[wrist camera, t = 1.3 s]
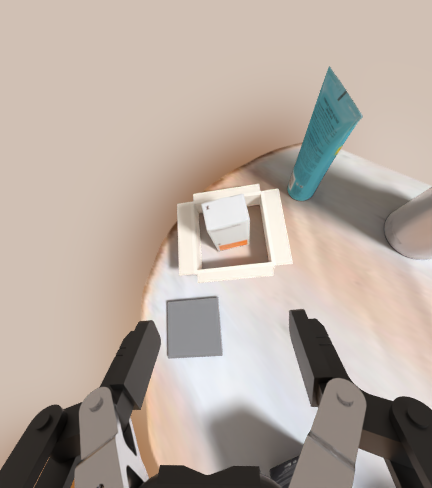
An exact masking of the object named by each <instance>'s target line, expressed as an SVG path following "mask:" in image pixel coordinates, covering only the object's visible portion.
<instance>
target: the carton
mask: <svg viewBox="0 0 432 488" xmlns="http://www.w3.org/2000/svg"><path fill="white" fill-rule="evenodd" d="M238 194H244V198H245V201H246V205H247V206H254V205H260V209H261V215H262V222H263V228H264V234H265V241H266V247H267V253H268V260H269V262H267V263H258V264H248V265H239V266H230V267H221V268H212V269H202V256H201V240H200V224H199V213H203V212H202V207H201V204H202V203H206V202H210V201H214V200H217V199H220V198H224V197H230V196H234V195H238ZM177 218H178V252H179V276H183V275H193V274H195V275H197V276H198V283H205V282H215V281H225V280H235V279H245V278H255V277H265V276H274V273H273V269H274V268H275V266H278V265H287V264H293V262H292V256H291V251H290V246H289V241H288V235H287V230H286V225H285V220H284V214H283V209H282V204H281V199H280V193H279V188H278V189H271V190H265V191H260V186H259V184H254V185H247V186H241V187H235V188H228V189H222V190H216V191H209V192H203V193H197V194H193V201H192V202H186V203H179V204H177Z"/></svg>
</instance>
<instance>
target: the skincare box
mask: <svg viewBox="0 0 432 488" xmlns="http://www.w3.org/2000/svg"><path fill="white" fill-rule="evenodd" d="M201 207H202V212H203V216H204V221H205V226H206V230H207V232H208V234H209V236H210V237H211V239H212V241H213V243H214V245H215V246H216V248H217V250H218V251H223V250H227V249H231V248H235V247H240V246H245V245H249V234H250V218H249V214H248V210H247V205H246V201H245V198H244V194H238V195H234V196H230V197H224V198H220V199H217V200H214V201H210V202H206V203H202V204H201Z"/></svg>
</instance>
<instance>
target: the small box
mask: <svg viewBox="0 0 432 488" xmlns="http://www.w3.org/2000/svg"><path fill="white" fill-rule="evenodd" d="M299 457H300V456H298V457H296V458H294V459H292V460H289V461H287V462H285V463H283V464H281V465H279V466H277V467H275V468H272V469H270V476H271V479H272V480H274V481H275V482H276V483H277V484H279V485H280V486H281V487H282V488H289V485H290V482H291V479H292V476H293V474H294V471H295V468H296V465H297V462H298V460H299Z"/></svg>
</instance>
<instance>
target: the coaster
mask: <svg viewBox="0 0 432 488" xmlns="http://www.w3.org/2000/svg"><path fill="white" fill-rule="evenodd" d="M222 355H223V351H222V339H221V327H220V314H219V302H218V298H207V299H196V300H185V301H173V302H168V358H187V357H206V356H222Z"/></svg>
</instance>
